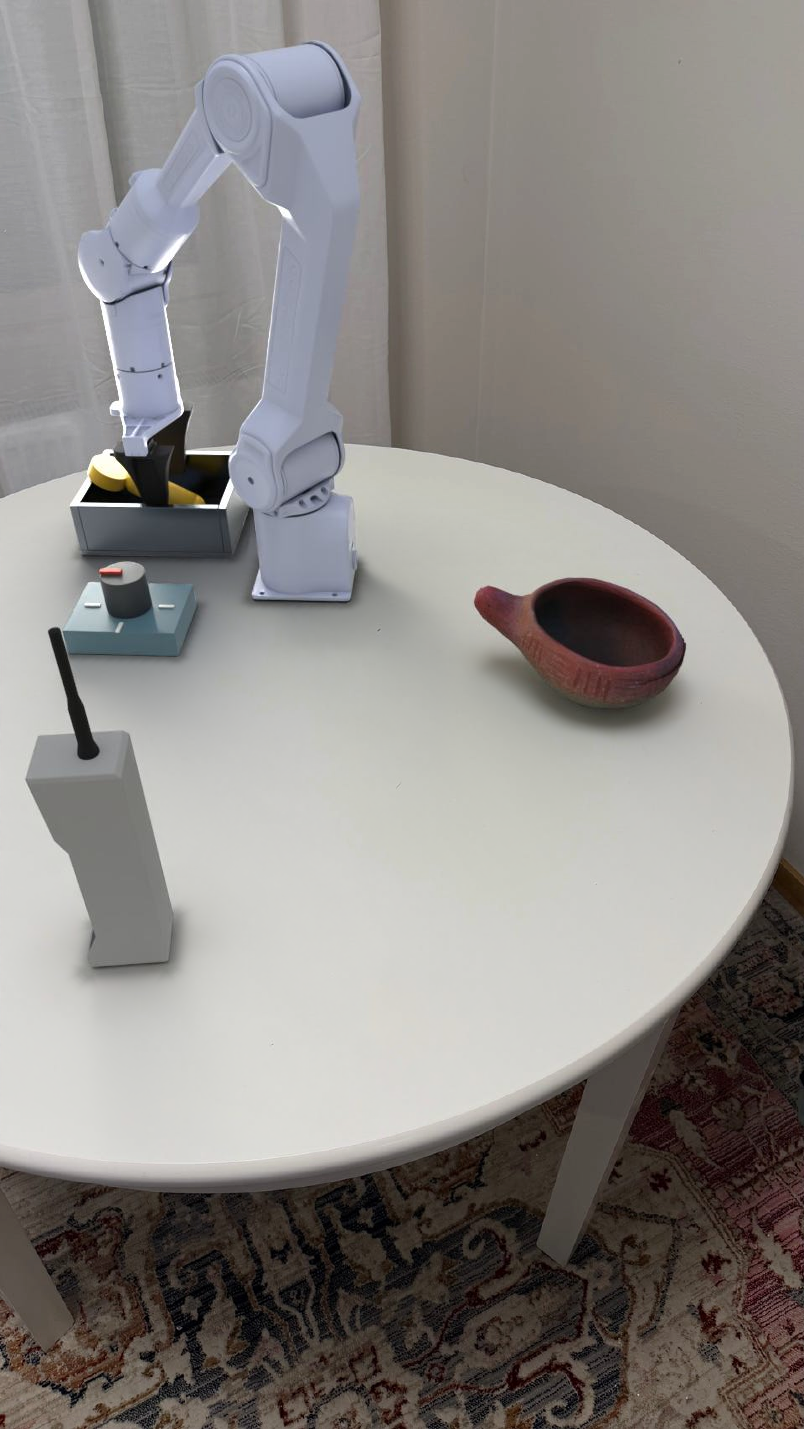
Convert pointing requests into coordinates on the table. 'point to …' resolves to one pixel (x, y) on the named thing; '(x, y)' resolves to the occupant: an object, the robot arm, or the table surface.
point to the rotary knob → (125, 589)
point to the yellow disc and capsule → (116, 478)
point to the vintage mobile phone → (103, 831)
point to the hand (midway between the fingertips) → (166, 490)
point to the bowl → (589, 639)
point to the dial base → (131, 623)
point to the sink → (164, 515)
